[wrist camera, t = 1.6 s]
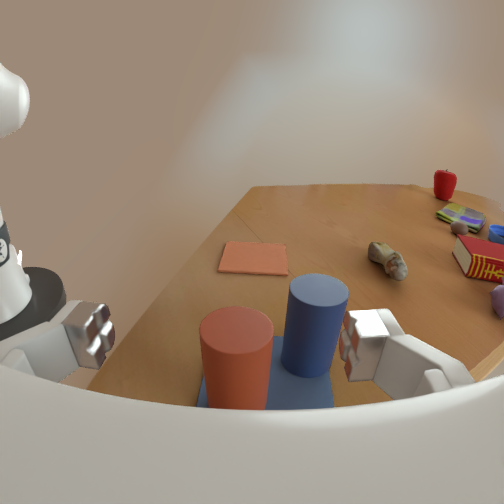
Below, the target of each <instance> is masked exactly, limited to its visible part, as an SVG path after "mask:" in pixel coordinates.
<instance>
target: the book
mask: <svg viewBox="0 0 504 504" xmlns="http://www.w3.org/2000/svg"><path fill="white" fill-rule="evenodd" d="M452 254H453V256H454V257H455V259H456V261H457V263H458V264H459V266H460V268H461V270H462V272H463V274H464V275H465V276H466V277H472V278H477V279H482V280H487V281H493V282H498V283H503V281H502V278H503V277H504V245H502V244H498V243H494V242H489V241H485V240H481V239H477V238H472V237H468V236H463V235H459V234H457V240H456V243H455V247H454V250H453V251H452Z"/></svg>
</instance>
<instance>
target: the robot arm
mask: <svg viewBox="0 0 504 504" xmlns="http://www.w3.org/2000/svg"><path fill="white" fill-rule="evenodd" d="M29 104H30V96H29V91H28V88H27V85H26V83H25V82H24V80H23V79H22V78H21V77H19V76H18V75H15V74H13V73H11V72H10V71H8V70H7V69H6V68H5V67H3V65H2V64H1V63H0V139H1V138H3V137H5V136H7V135H9V134H11V133H13V132H15V131H17V130H19V129H20V127H21V126H22V124H23V123H24V121H25V119H26V116H27V113H28V110H29ZM21 257H22V253H21V251H20V252H19V256H17V253H16V251H15V248H14V246H12V245H11V244H10V237H9V231H8V228H7V226H6V223H5V221H3V218H2V213H1V208H0V324H2V323H4V322H6V321H8V320H10V319H12V318H13V317H15V316H16V315H17V314H19V313H20V312H21V311H22V310H23V309H24V308H25V307H26V306H27V304H28V303H29V301H30V299H31V296H32V290H31V288H30V286H29V282H30V278H29V276H28V274H25V273H24V271H23V268H22V266H21ZM109 316H110V311H109V308H108V306H107V305H106V304H103V303H94V302H86V301H78V300H70V301H69V302H68V303H67V304H66V305H65V306H64V307H63V308H62V309H61V310H60V311H59V312H58V313H57V314H56V315H55V316H54V317H53V318H52V319H51V321H50V322H44V323H42V324H39V325H37V326H35V327H32V328H30V329H28V330H25V331H23V332H21V333H18V334H16V335H14V336H11V337H9V338H7V339H4V340H2V341H0V504H504V374H502V375H499V376H496V377H493V378H489V379H486V380H483V381H479V382H475V381H474V379H473V378H472V376H471V375H470V373H469V372H468V370H467V369H466V367H465V366H464V365H463V363H462V362H460V361H458V360H456V359H454V358H452V357H451V356H449V355H447V354H445V353H443V352H441V351H439V350H437V349H435V348H434V347H432V346H430V345H428V344H426V343H424V342H422V341H420V340H419V339H417V338H415V337H413V336H411V335H405V333H404V332H403V330H402V329H401V327H400V326H399V324H398V322H397V321H396V319H395V318H394V316H393V315H392V313H391V312H390V310H389V309H375V310H362V311H346V312H345V315H344V318H343V324H344V326H345V329H344V330H343V331H342V332H341V334H340V339H339V351H340V356H341V359H342V360H343V361H345V362H346V363H345V367H344V369H345V372H346V375H347V378H348V381H349V382H355V381H369V380H373V382H374V383H375V384H376V385H377V386H379V387H380V388H381V389H382V390H383V391H384V392H385V393H386V394H388V395H389V396H390V397H391V398H392V399H393V401H387V402H380V403H373V404H365V405H356V406H346V407H335V408H321V409H302V410H234V409H214V408H200V407H189V406H179V405H170V404H162V403H154V402H147V401H141V400H134V399H128V398H123V397H117V396H112V395H107V394H102V393H97V392H93V391H88V390H84V389H80V388H76V387H72V386H68V385H64V384H60V383H59V382H60V381H61V380H63V379H64V378H66V377H67V376H68V375H70V374H71V373H72V372H74V371H75V370H77V369H78V368H79V367H85V368H92V369H97V370H99V369H100V367H101V366H102V364H103V362H104V360H105V359H106V356H105V353H106V352H108V351H110V350H111V348H112V346H113V345H114V340H115V331H114V326H113V324H112V323H111V322H110V321H109V320H108V319H109Z"/></svg>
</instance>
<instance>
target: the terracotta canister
mask: <svg viewBox="0 0 504 504" xmlns="http://www.w3.org/2000/svg"><path fill="white" fill-rule="evenodd" d="M199 333H200V343H201V352H202V361H203V370H204V378H205V386H206V394H207V401H208V406H209V408H214V409H234V410H264V409H265V407H266V402H267V393H268V384H269V375H270V365H271V356H272V346H273V335H274V327H273V324H272V322H271V321H270V319H269V318H268V317H267V316H266V315H264V314H263V313H261V312H259V311H257V310H255V309H252V308H248V307H240V306H233V307H225V308H221V309H218V310H215V311H213V312H211V313H210V314H208V315H207V316H206V317H205V318H204V319H203V321H202V322H201V324H200V328H199Z"/></svg>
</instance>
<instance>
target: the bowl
mask: <svg viewBox="0 0 504 504" xmlns="http://www.w3.org/2000/svg"><path fill="white" fill-rule="evenodd" d="M489 239H490V241H491V242H494V243H498V244H502V245H504V226H500V225H490V227H489Z"/></svg>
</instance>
